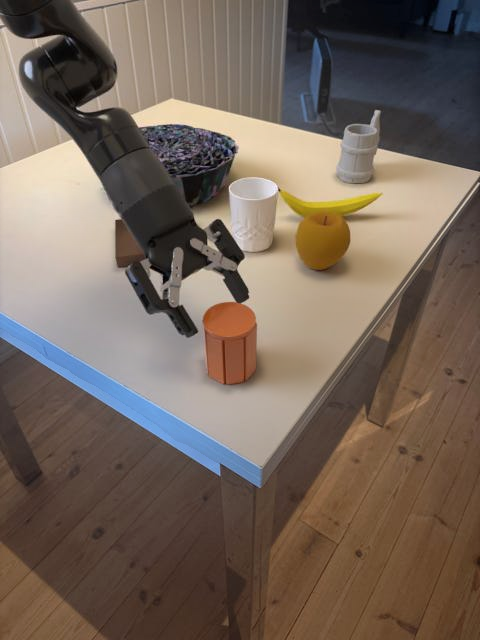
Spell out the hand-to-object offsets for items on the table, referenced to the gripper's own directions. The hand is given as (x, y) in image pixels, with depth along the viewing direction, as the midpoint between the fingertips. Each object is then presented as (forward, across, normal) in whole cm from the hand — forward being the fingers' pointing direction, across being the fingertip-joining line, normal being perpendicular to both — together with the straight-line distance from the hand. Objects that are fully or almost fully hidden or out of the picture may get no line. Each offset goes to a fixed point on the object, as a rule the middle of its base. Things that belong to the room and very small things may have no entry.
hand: (219, 317), depth 58 cm
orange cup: (+6, 0, +4) cm, 7 cm away
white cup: (-6, +23, +16) cm, 29 cm away
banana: (-3, +38, +13) cm, 41 cm away
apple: (+3, +26, +8) cm, 27 cm away
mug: (-7, +59, +18) cm, 62 cm away
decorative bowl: (-25, +27, +35) cm, 51 cm away
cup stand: (-15, +11, +25) cm, 31 cm away
